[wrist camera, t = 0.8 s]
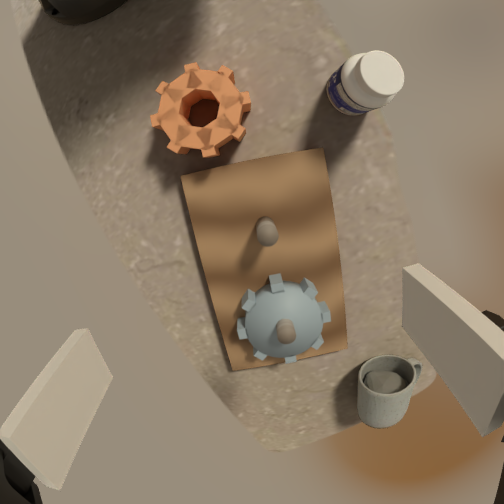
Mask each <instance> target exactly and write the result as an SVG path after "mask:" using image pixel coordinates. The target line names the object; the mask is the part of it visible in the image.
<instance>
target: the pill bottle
mask: <svg viewBox="0 0 504 504" xmlns="http://www.w3.org/2000/svg"><path fill="white" fill-rule="evenodd" d="M403 83H404V73H403V70H402V67H401V66H400V64H399V63H398V61H397V60H396V59H395V58H394V57H393V56H391V55H390V54H388V53H386V52H383V51H371V52H368V53H361V54H357V55H354V56H352V57H350V58H349V59H348V60H347V61H346V62H345V63H344V64H343V65H342V66H341V67H340V68H339V69H338V70H337V71H335V72H334V73H333V74H332V75H331V77H330V78H329V80H328V83H327V95H328V98H329V100H330V102H331V103H332V105H333V106H334V107H335V108H336V109H337V110H339V111H340V112H342V113H344V114H347V115H360V114H364V113H366V112H369V111H371V110H374V109H377V108H380V107H383V106H385V105H387V104H388V103H389V102H391V101H392V99H393V98H394V96H395V94H396V93H397V92H399V91H400V89H401V88H402V86H403Z"/></svg>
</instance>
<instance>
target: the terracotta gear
mask: <svg viewBox="0 0 504 504" xmlns="http://www.w3.org/2000/svg"><path fill="white" fill-rule="evenodd" d="M184 67H185V73H184V74H182V75H181V76H179V77H178V78H177V79H175V80H174V81H172V82H171V83H170V84H168V83H166V82H164V81H162V82H161V83H160V85H159V86H158V88H157V89H156V92H158V93H159V94H161V95H162V96H161V100H160V105H159V110H158V113H157V114H154V115H150V118H151V123H152V127H154V128H157V129H160V130H163V131H165V132H166V134H167V135H168V137H169V138H170V140H171V141H170V143H169V144H168V146H167V148H169V149H170V150H172V151H174V152H175V153H178V154H187V153H188V152H189V150H190V149H191V148H192V149H199V150H202V155H203V157H205V158H211V157H216V156H220V152H219V148H220V147H222V146H223V145H224V144H226V143H227V142H229V141H230V140H232V139H233V138H234V139H235V140H237V141H239V142H240V141H241V140H242V138H243V137H244V135H245V134H246V128H244V127H242V126H241V121H242V116H243V112H248V111H250V110H251V101H250V97H249V92H248V91H246V92H241V93H240V92H239V91H238V90H237V88H236V87H235V86H234V84H235V80H234V74H233V71H232V70H230V69H228V68H227V67H225V66H223V65H222V66H221V68H220V69H219V70H218V71H210V70H201V69H200V68H199V66H198V65H197V63H196V62H195V63H191V64H187V65H184ZM201 99H209V100H216V101H217V102H218V104H219V110H218V115H217V118H216V119H215V120H214V121H212V122H211V123H209V124H208V125H206V126H205V127H203V128H202V127H195V126H192V124H191V123H190V121H189V120H188V119H189V114H190V109H191V106H193V105H194V104H195V103H197V102H198V101H200V100H201Z"/></svg>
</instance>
